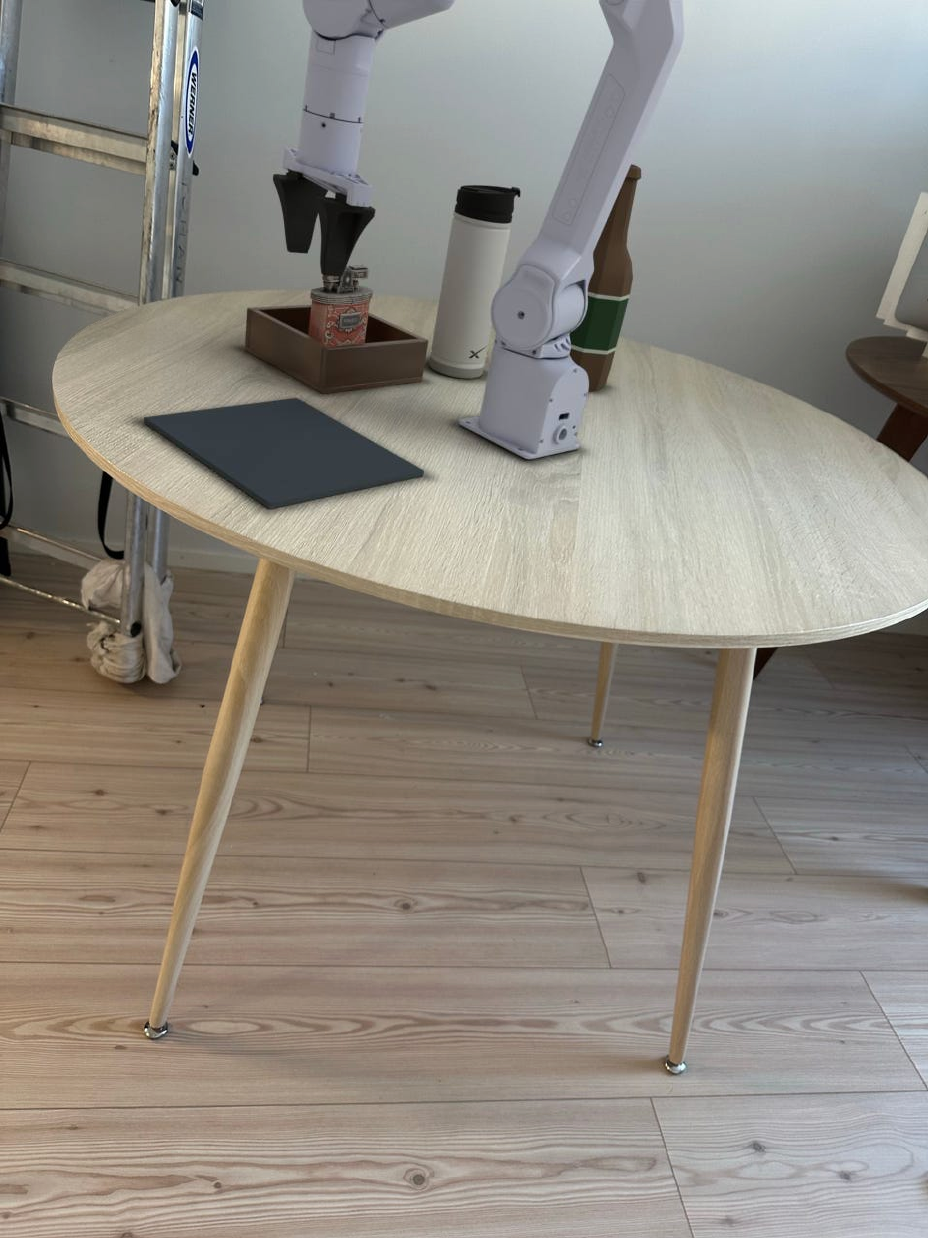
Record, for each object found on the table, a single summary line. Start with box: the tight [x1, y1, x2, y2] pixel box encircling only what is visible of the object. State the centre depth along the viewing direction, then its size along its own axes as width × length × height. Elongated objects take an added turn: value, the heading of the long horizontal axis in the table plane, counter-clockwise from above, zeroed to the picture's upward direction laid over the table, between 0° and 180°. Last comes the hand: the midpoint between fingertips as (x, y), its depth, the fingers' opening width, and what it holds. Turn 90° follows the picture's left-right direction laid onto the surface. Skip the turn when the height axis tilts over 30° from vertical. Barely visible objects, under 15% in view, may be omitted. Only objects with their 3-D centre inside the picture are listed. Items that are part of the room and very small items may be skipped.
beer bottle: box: [569, 163, 642, 392], centre depth 112 cm, size 8×8×24 cm
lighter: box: [308, 264, 374, 346], centre depth 103 cm, size 8×3×10 cm, turn 143°
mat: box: [143, 397, 425, 510], centre depth 84 cm, size 18×16×1 cm
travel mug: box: [428, 184, 521, 380], centre depth 108 cm, size 6×7×20 cm
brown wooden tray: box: [243, 304, 429, 395], centre depth 105 cm, size 14×14×4 cm
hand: (314, 263), depth 99 cm, fingers open, 7 cm apart
